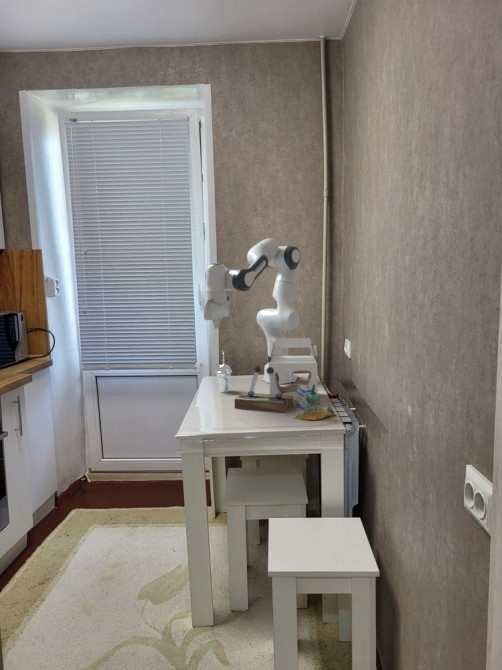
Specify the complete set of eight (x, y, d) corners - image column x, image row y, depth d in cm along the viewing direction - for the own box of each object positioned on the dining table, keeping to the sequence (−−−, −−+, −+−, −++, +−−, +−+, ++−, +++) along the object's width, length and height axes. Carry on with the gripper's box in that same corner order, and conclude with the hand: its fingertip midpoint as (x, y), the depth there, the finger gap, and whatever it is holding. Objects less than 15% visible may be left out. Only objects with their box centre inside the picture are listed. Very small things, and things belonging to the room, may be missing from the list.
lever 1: (248, 393, 214) (256, 364, 211) (255, 396, 213) (262, 366, 210) (245, 395, 211) (253, 365, 208) (252, 397, 210) (260, 367, 207)
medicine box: (296, 406, 210) (296, 386, 209) (305, 404, 212) (305, 385, 211) (305, 410, 203) (305, 390, 202) (314, 409, 205) (314, 389, 204)
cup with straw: (213, 392, 237) (211, 352, 234) (219, 388, 245) (218, 349, 243) (229, 393, 234) (228, 353, 231) (235, 389, 243) (234, 350, 240)
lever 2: (277, 398, 209) (266, 367, 209) (284, 396, 208) (273, 365, 208) (275, 400, 206) (264, 368, 207) (282, 398, 205) (271, 366, 205)
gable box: (316, 393, 232) (316, 335, 228) (318, 400, 218) (317, 339, 215) (270, 393, 234) (269, 336, 230) (269, 400, 220) (268, 340, 217)
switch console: (245, 401, 220) (245, 391, 220) (294, 405, 212) (294, 395, 211) (234, 408, 209) (234, 397, 209) (286, 412, 201) (286, 402, 200)
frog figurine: (340, 421, 188) (336, 384, 186) (294, 426, 189) (289, 390, 187) (336, 413, 198) (332, 378, 196) (293, 418, 199) (288, 384, 197)
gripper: (212, 299, 211) (213, 331, 212) (231, 297, 229) (232, 325, 231) (199, 299, 213) (200, 330, 215) (219, 297, 232) (220, 325, 234)
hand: (217, 328), depth 223 cm, fingers closed
